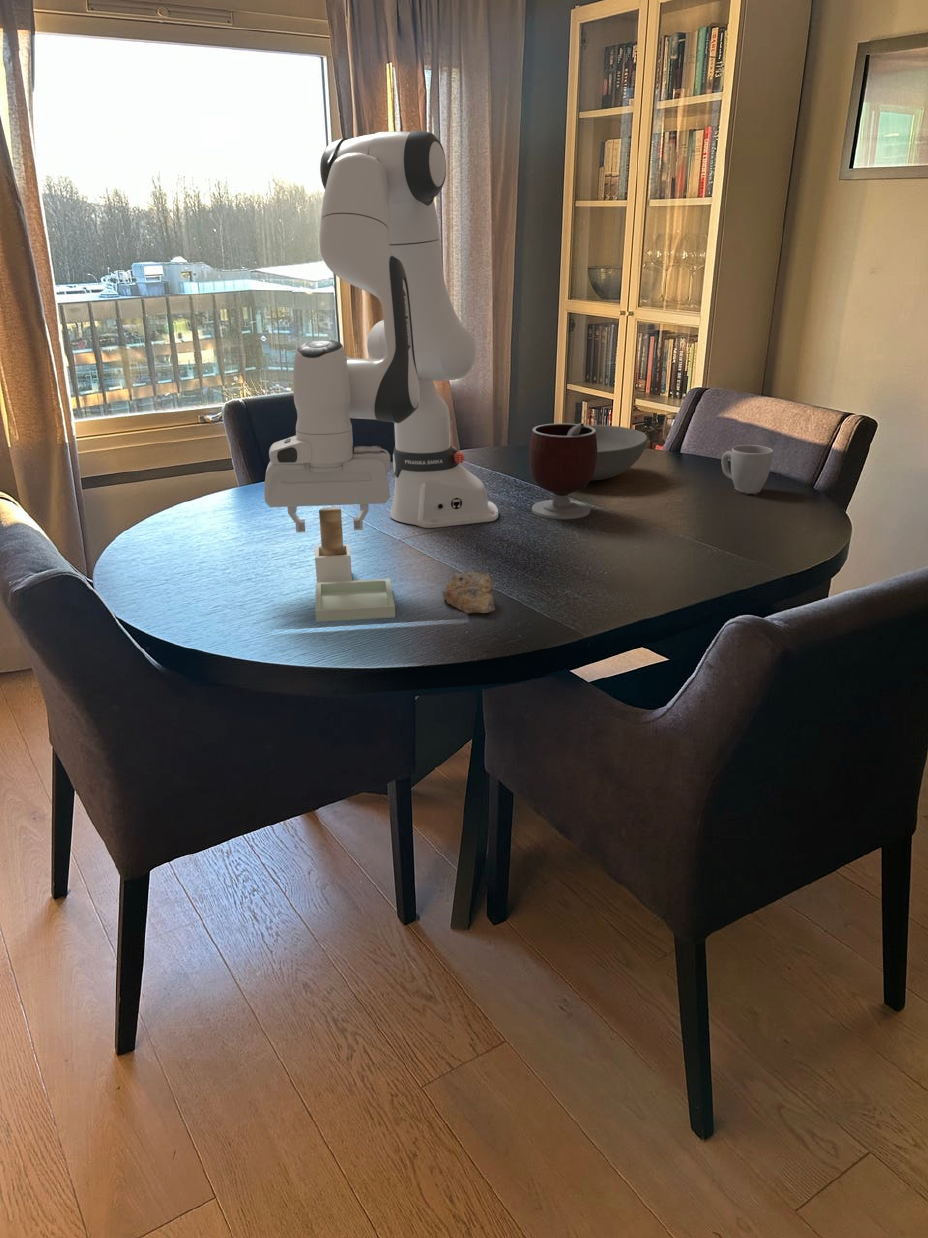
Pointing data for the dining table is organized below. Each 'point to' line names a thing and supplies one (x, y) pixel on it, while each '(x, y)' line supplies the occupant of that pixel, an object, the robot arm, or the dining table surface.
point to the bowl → (616, 450)
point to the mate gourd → (562, 466)
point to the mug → (748, 466)
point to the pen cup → (333, 566)
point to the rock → (470, 592)
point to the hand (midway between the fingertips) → (329, 530)
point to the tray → (354, 600)
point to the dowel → (331, 531)
